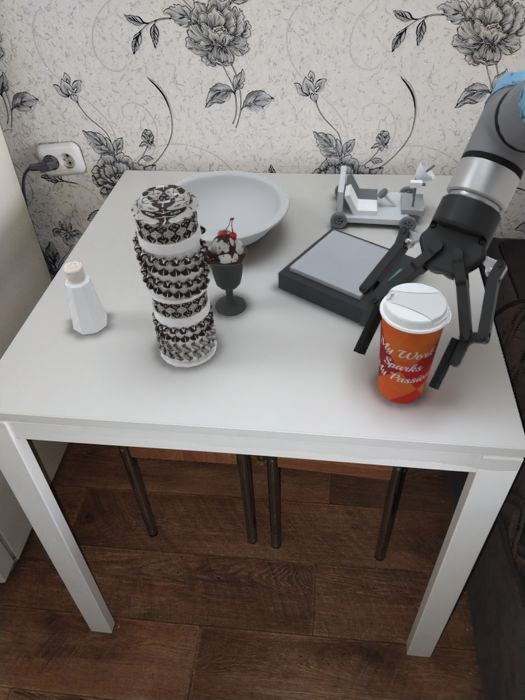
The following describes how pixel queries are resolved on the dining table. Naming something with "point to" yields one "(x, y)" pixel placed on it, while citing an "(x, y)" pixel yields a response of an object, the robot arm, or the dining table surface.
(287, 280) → the scale
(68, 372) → the dining table surface
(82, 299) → the pepper shaker
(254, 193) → the white bowl
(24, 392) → the dining table surface
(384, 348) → the coffee cup
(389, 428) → the dining table surface
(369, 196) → the toy car
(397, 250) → the robot arm
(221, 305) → the sundae
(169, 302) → the decorative candle
